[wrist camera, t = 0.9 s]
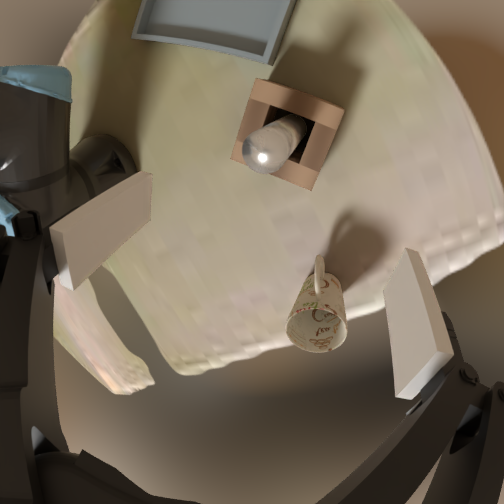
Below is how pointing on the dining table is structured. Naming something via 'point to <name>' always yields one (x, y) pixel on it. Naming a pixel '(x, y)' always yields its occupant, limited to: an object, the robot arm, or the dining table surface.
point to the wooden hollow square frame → (321, 111)
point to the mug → (318, 313)
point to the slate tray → (217, 25)
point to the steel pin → (273, 144)
